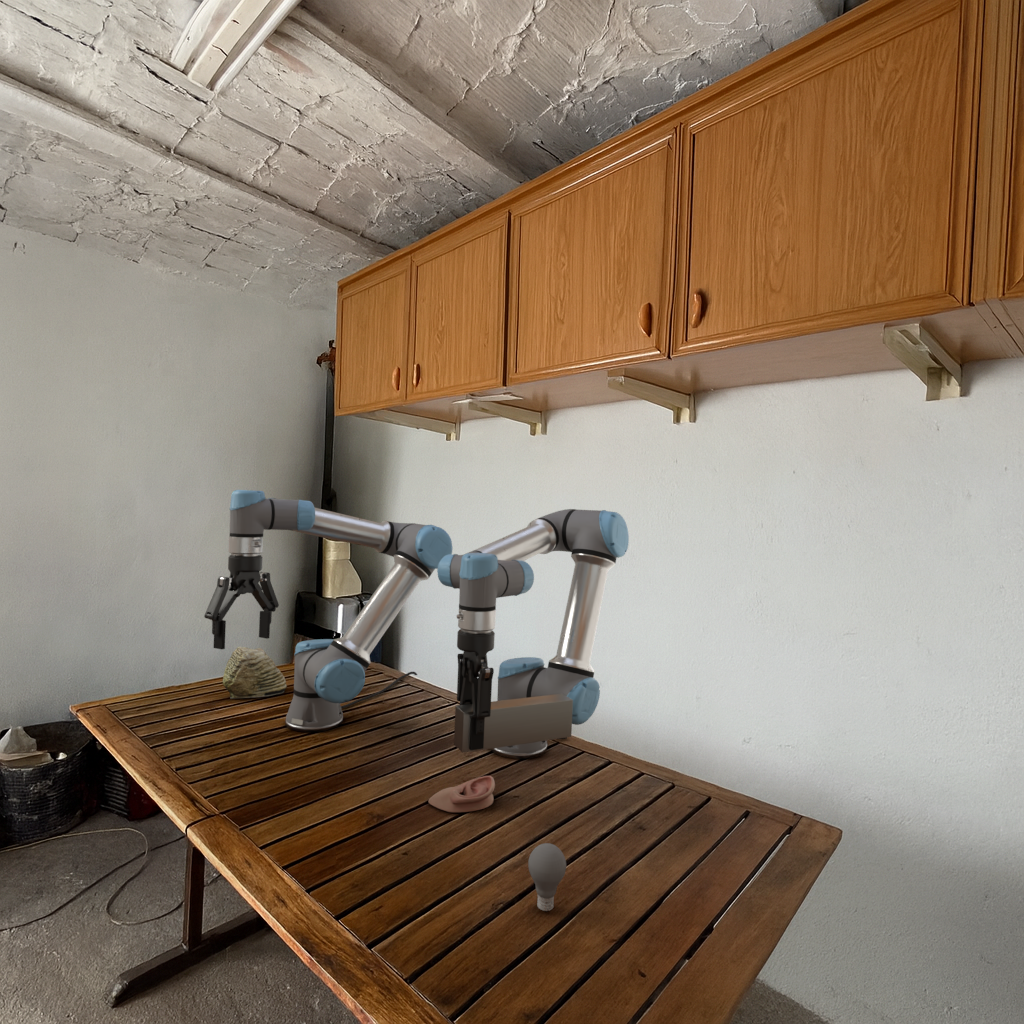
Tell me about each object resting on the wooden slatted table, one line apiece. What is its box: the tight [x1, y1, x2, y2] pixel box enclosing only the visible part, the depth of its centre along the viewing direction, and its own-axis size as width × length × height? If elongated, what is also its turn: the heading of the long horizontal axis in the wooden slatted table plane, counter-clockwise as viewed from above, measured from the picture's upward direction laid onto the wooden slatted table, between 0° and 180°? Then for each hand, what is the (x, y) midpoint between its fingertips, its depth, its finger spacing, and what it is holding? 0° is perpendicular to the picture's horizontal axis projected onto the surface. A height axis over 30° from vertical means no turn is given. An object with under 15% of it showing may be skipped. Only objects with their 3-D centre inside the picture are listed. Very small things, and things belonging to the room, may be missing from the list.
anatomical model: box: [427, 775, 496, 813], centre depth 134 cm, size 13×4×12 cm
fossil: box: [222, 646, 288, 699], centre depth 198 cm, size 9×18×15 cm, turn 132°
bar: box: [453, 694, 573, 754], centre depth 133 cm, size 25×5×8 cm, turn 116°
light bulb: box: [527, 842, 567, 912], centre depth 100 cm, size 6×6×10 cm
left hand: (242, 643), depth 152 cm, fingers open, 13 cm apart
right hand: (471, 743), depth 129 cm, fingers closed on bar, 5 cm apart
